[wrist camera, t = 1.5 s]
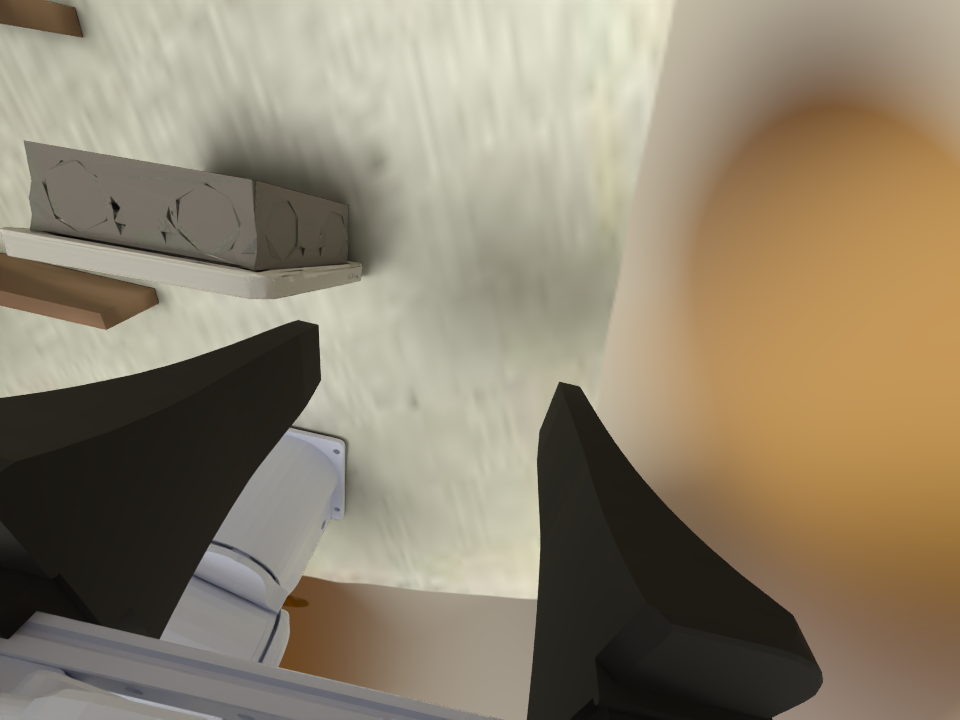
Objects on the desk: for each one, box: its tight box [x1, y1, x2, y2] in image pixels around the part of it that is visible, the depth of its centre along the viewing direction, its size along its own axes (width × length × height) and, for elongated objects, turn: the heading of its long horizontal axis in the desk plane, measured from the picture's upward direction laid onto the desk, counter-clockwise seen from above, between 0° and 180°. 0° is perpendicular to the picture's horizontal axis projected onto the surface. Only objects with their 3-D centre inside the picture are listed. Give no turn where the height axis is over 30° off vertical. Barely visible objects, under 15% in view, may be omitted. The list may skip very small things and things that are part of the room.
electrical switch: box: [0, 141, 362, 299], centre depth 16 cm, size 9×5×9 cm, turn 82°
